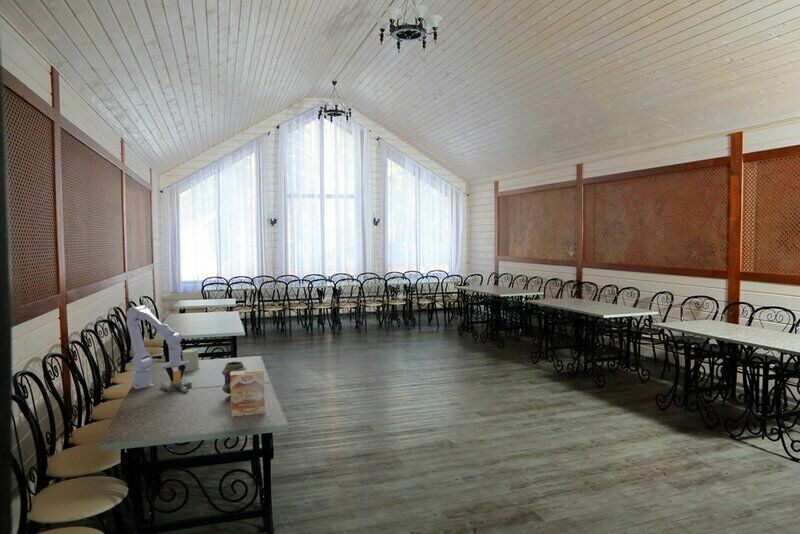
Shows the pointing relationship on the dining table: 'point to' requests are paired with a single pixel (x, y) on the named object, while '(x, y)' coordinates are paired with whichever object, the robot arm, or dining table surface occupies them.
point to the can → (191, 359)
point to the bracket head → (177, 386)
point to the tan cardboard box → (176, 377)
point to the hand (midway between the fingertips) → (176, 380)
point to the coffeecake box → (247, 392)
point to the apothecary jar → (226, 371)
